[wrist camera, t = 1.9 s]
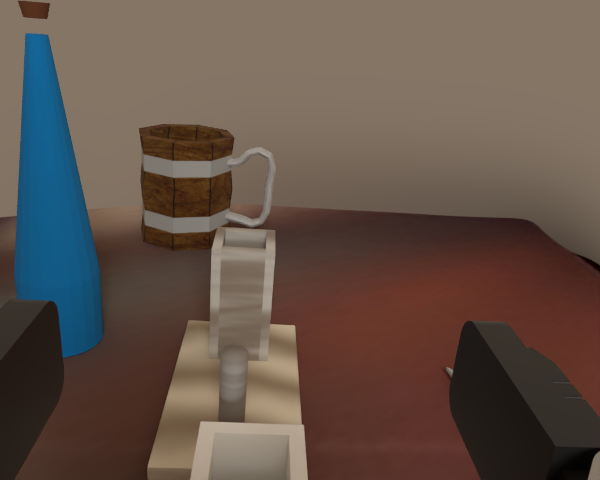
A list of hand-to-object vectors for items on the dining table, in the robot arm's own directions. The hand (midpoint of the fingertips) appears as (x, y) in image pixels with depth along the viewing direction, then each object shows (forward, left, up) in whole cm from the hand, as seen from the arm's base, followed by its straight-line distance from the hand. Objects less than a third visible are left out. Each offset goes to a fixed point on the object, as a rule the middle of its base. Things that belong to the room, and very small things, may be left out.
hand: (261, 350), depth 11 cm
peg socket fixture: (-12, +28, -25) cm, 39 cm away
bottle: (-31, +29, -25) cm, 49 cm away
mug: (-31, +60, -25) cm, 72 cm away
